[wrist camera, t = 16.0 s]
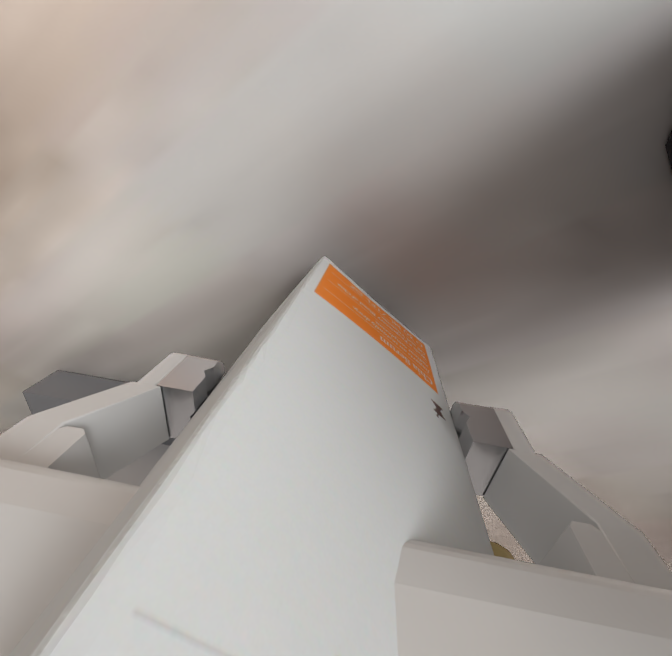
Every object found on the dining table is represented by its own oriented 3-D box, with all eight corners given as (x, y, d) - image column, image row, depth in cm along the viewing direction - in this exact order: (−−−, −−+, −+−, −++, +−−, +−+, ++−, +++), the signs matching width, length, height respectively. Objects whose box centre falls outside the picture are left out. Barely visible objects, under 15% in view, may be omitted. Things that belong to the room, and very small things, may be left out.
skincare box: (434, 343, 13) (696, 1120, 2) (365, 400, 15) (335, 992, 4) (322, 247, 12) (-208, 961, 1) (261, 321, 13) (-173, 877, 3)
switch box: (402, 431, 17) (414, 549, 12) (357, 581, 24) (352, 696, 19) (57, 370, 18) (-78, 453, 13) (113, 532, 25) (43, 628, 20)
